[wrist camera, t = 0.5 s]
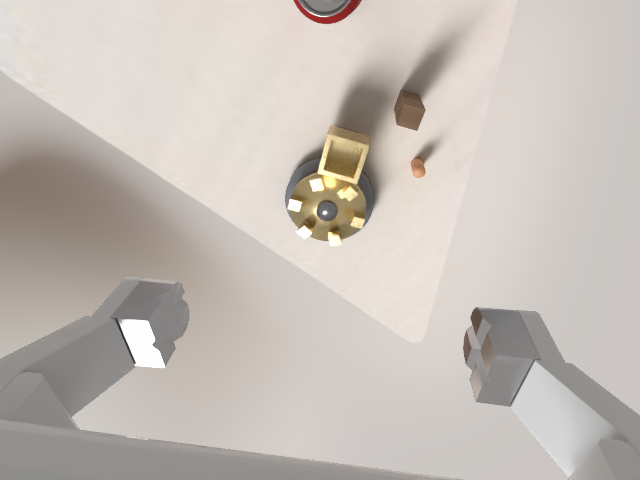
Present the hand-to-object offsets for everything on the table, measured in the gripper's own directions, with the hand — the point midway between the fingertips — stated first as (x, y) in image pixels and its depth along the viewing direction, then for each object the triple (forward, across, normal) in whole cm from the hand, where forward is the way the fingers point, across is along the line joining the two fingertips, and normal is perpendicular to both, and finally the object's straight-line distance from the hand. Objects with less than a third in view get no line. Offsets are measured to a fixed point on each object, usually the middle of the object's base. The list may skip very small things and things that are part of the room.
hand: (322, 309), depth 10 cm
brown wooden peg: (+42, -6, +4) cm, 43 cm away
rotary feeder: (+40, +3, +15) cm, 43 cm away
